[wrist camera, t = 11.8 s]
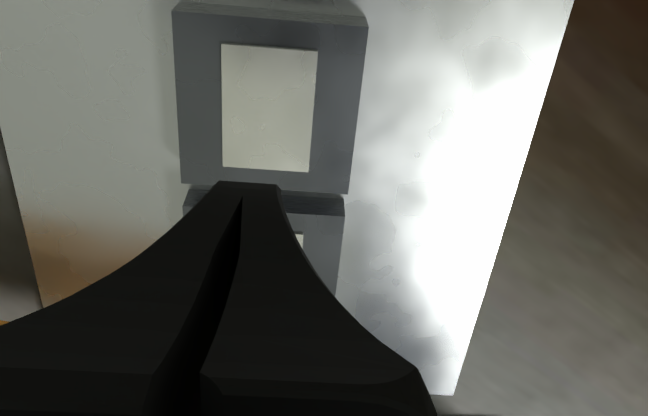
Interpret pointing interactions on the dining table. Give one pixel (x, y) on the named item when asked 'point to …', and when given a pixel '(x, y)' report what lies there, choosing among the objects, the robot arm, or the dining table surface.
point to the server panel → (284, 139)
